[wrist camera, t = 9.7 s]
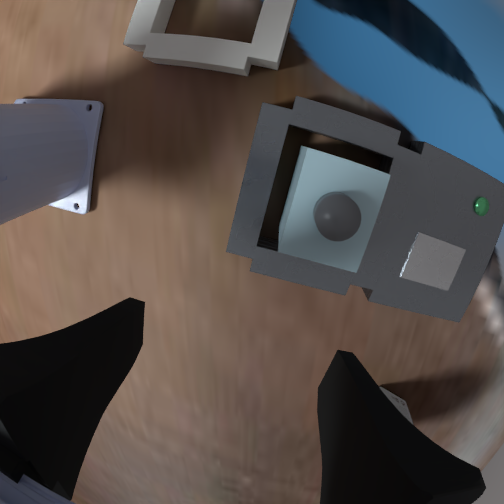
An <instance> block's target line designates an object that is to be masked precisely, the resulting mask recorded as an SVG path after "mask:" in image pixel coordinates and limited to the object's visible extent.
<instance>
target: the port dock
mask: <svg viewBox="0 0 504 504" xmlns="http://www.w3.org/2000/svg"><path fill="white" fill-rule="evenodd" d="M288 126H291V127H295V128H299V129H302V130H306V131H309V132H313V133H316V134H319V135H323V136H326V137H329V138H332V139H335V140H339V141H342V142H345V143H348V144H351V145H354V146H357V147H360V148H362V149H365V150H368V151H371V152H374V153H376V154H379V155H382V160H381V163H380V167H379V171H381V172H384V173H387V174H389V175H391V176H390V179H389V182H388V185H387V189H386V192H385V195H384V198H383V201H382V204H381V207H380V210H379V213H378V216H377V219H376V222H375V225H374V228H373V230H372V233H371V236H370V239H369V241H368V244H367V247H366V250H365V252H364V255H363V258H362V260H361V263H360V265H359V268H358V270H357V273H355V272H351V271H347V270H344V269H340V268H336V267H332V266H329V265H325V264H321V263H317V262H314V261H310V260H306V259H302V258H299V257H295V256H291V255H287V254H284V253H280V252H278V243H279V241H278V240H274V239H271V238H267V237H263V236H259V234H260V231H261V227H262V223H263V219H264V216H265V212H266V208H267V204H268V201H269V197H270V193H271V189H272V186H273V182H274V178H275V174H276V171H277V167H278V163H279V159H280V155H281V152H282V148H283V144H284V140H285V137H286V133H287V129H288ZM400 133H401V131H399V130H396V129H394V128H391V127H389V126H386V125H384V124H381V123H379V122H376V121H373V120H371V119H368V118H365V117H362V116H359V115H357V114H354V113H351V112H348V111H345V110H342V109H339V108H336V107H333V106H329V105H326V104H323V103H320V102H316V101H313V100H309V99H306V98H302V97H298V96H296V98H295V101H294V105H293V109H292V110H291V109H288V108H284V107H280V106H276V105H272V104H267V103H262V107H261V111H260V114H259V118H258V122H257V126H256V130H255V134H254V138H253V142H252V146H251V150H250V154H249V158H248V162H247V166H246V170H245V174H244V178H243V182H242V186H241V190H240V194H239V199H238V203H237V207H236V211H235V215H234V220H233V224H232V228H231V232H230V237H229V241H228V245H227V250H226V252H229V253H233V254H237V255H241V256H244V257H248V258H252V259H253V260H252V264H251V268H250V271H251V272H255V273H259V274H263V275H267V276H271V277H275V278H278V279H282V280H286V281H290V282H294V283H298V284H302V285H306V286H310V287H314V288H318V289H322V290H326V291H330V292H334V293H338V294H342V295H346V293H347V290H348V288H349V285H350V284H352V285H356V286H359V287H362V289H363V291H364V293H365V295H366V297H367V299H368V301H370V302H374V303H378V304H383V305H387V306H391V307H395V308H399V309H403V310H408V311H412V312H416V313H420V314H425V315H429V316H433V317H438V318H442V319H446V320H451V321H455V322H460V320H461V318H462V317H463V315H464V313H465V311H466V309H467V307H468V305H469V303H470V301H471V299H472V297H473V295H474V293H475V291H476V289H477V287H478V285H479V283H480V280H481V278H482V276H483V274H484V272H485V269H486V267H487V265H488V262H489V260H490V258H491V255H492V253H493V250H494V248H495V245H496V242H497V240H498V237H499V234H500V232H501V229H502V226H503V223H504V184H503V183H502V182H500V181H498V180H497V179H495V178H493V177H492V176H490V175H488V174H487V173H485V172H483V171H481V170H480V169H478V168H476V167H474V166H472V165H470V164H468V163H467V162H465V161H463V160H461V159H459V158H457V157H455V156H453V155H451V154H449V153H447V152H445V151H443V150H441V149H439V148H437V147H435V146H433V145H430V144H428V143H426V142H420V141H411V144H410V148H409V149H407V148H404V147H402V146H399V145H397V144H398V141H399V137H400Z"/></svg>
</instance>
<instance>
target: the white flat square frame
mask: <svg viewBox="0 0 504 504" xmlns="http://www.w3.org/2000/svg"><path fill="white" fill-rule="evenodd" d="M175 1H176V0H138V2H137V4H136V7H135V10H134V13H133V15H132V18H131V21H130V24H129V27H128V30H127V33H126V37H125V40H124V43H123V45H125V46H127V47H129V48H131V49H133V50H135V51H142V52H144V54H143V58H145V59H147V60H149V61H151V62H153V63H155V64H165V65H176V66H185V67H193V68H200V69H207V70H214V71H220V72H226V73H232V74H237V75H243V76H248V74H249V71H250V67H251V65H256V66H260V67H265V68H270V69H274V70H278V67H279V64H280V60H281V56H282V53H283V49H284V45H285V42H286V38H287V34H288V31H289V27H290V24H291V20H292V17H293V13H294V9H295V5H296V2H297V0H264V2H263V6H262V9H261V12H260V15H259V19H258V22H257V25H256V29H255V32H254V36H253V39H252V42H251V43H245V42H239V41H233V40H226V39H219V38H211V37H202V36H192V35H180V34H164V33H165V30H166V27H167V24H168V21H169V18H170V15H171V12H172V9H173V6H174V3H175Z"/></svg>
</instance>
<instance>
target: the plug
mask: <svg viewBox="0 0 504 504" xmlns="http://www.w3.org/2000/svg"><path fill="white" fill-rule="evenodd" d="M390 176H391V175H389V174H387V173H384V172H381V171H379V170H376V169H373V168H370V167H368V166H365V165H362V164H359V163H356V162H353V161H350V160H347V159H344V158H341V157H338V156H335V155H331V154H328V153H325V152H322V151H318V150H315V149H312V148H308V147H305V146H301V147H300V151H299V154H298V158H297V162H296V165H295V169H294V173H293V176H292V180H291V184H290V187H289V191H288V194H287V198H286V202H285V205H284V209H283V212H282V216H281V219H280V223H279V243H278V252H280V253H284V254H287V255H291V256H295V257H299V258H302V259H306V260H310V261H314V262H317V263H321V264H325V265H329V266H332V267H336V268H340V269H344V270H347V271H351V272H355V273H357V270H358V268H359V265H360V263H361V260H362V258H363V255H364V252H365V250H366V247H367V244H368V241H369V239H370V236H371V233H372V230H373V228H374V225H375V222H376V219H377V216H378V213H379V210H380V207H381V204H382V201H383V198H384V195H385V192H386V189H387V185H388V182H389V179H390Z"/></svg>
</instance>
